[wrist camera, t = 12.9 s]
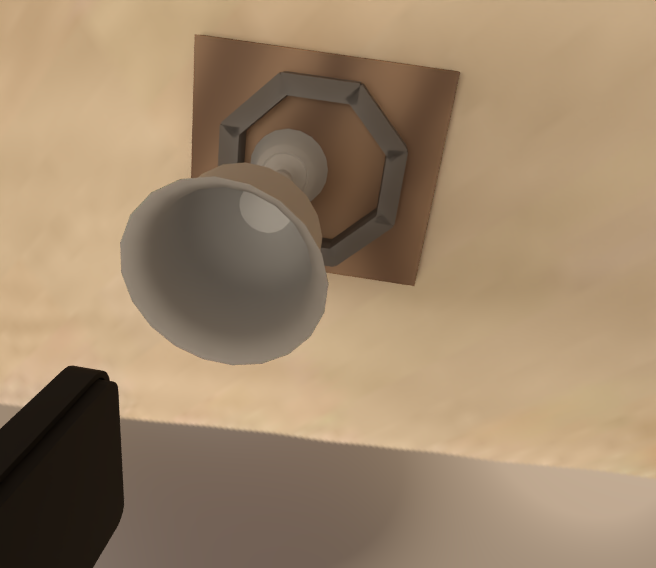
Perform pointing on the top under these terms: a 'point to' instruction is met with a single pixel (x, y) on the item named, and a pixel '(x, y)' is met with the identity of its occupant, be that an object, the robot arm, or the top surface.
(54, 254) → the top surface
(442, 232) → the top surface
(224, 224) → the chalice
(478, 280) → the top surface
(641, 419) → the top surface
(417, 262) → the display stand
